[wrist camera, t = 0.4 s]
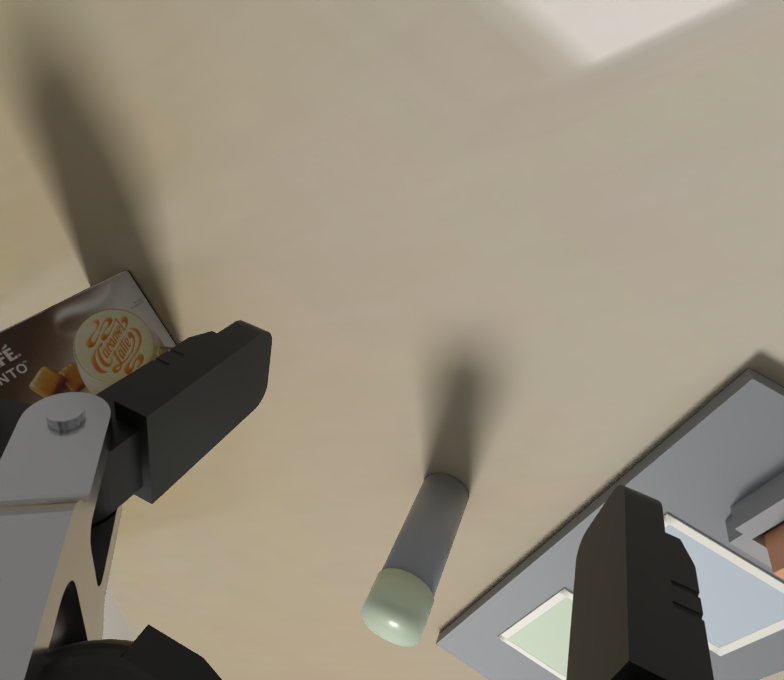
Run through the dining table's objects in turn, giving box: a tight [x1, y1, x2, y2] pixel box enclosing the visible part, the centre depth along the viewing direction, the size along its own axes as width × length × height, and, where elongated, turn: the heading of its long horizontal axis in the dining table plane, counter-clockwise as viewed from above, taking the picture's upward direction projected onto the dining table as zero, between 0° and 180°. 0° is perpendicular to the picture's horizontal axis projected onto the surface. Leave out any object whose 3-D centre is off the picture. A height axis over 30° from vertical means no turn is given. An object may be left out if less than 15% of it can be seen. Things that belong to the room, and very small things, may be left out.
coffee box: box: [0, 271, 176, 404], centre depth 37 cm, size 9×6×16 cm
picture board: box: [436, 368, 784, 680], centre depth 35 cm, size 38×16×3 cm, turn 158°
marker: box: [361, 473, 469, 646], centre depth 34 cm, size 4×4×11 cm
